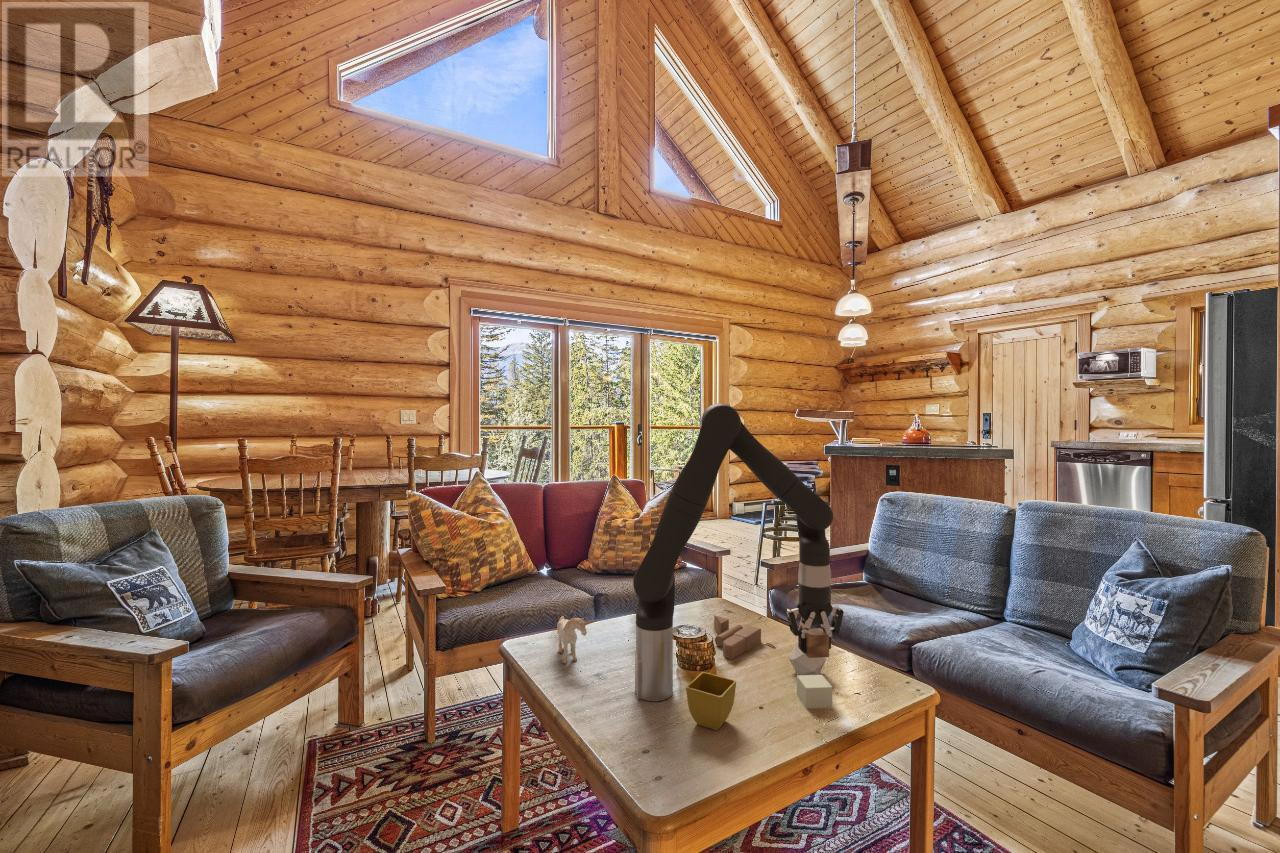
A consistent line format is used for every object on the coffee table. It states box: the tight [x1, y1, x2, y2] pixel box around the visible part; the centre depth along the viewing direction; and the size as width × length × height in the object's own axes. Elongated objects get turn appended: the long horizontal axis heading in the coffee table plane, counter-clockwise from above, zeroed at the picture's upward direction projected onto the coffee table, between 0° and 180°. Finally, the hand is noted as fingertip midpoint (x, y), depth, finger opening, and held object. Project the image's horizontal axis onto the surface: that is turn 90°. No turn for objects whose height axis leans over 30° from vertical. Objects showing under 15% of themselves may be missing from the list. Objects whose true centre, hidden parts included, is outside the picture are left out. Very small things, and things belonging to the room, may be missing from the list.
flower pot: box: [685, 671, 737, 731], centre depth 127 cm, size 9×9×9 cm
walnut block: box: [805, 627, 830, 658], centre depth 137 cm, size 5×5×5 cm
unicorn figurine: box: [556, 615, 599, 664], centre depth 161 cm, size 7×20×13 cm, turn 36°
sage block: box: [796, 674, 833, 709], centre depth 137 cm, size 6×6×5 cm
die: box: [788, 641, 827, 675], centre depth 151 cm, size 8×9×10 cm
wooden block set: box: [713, 615, 762, 661], centre depth 172 cm, size 17×6×18 cm
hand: (814, 650), depth 137 cm, fingers closed on walnut block, 5 cm apart
